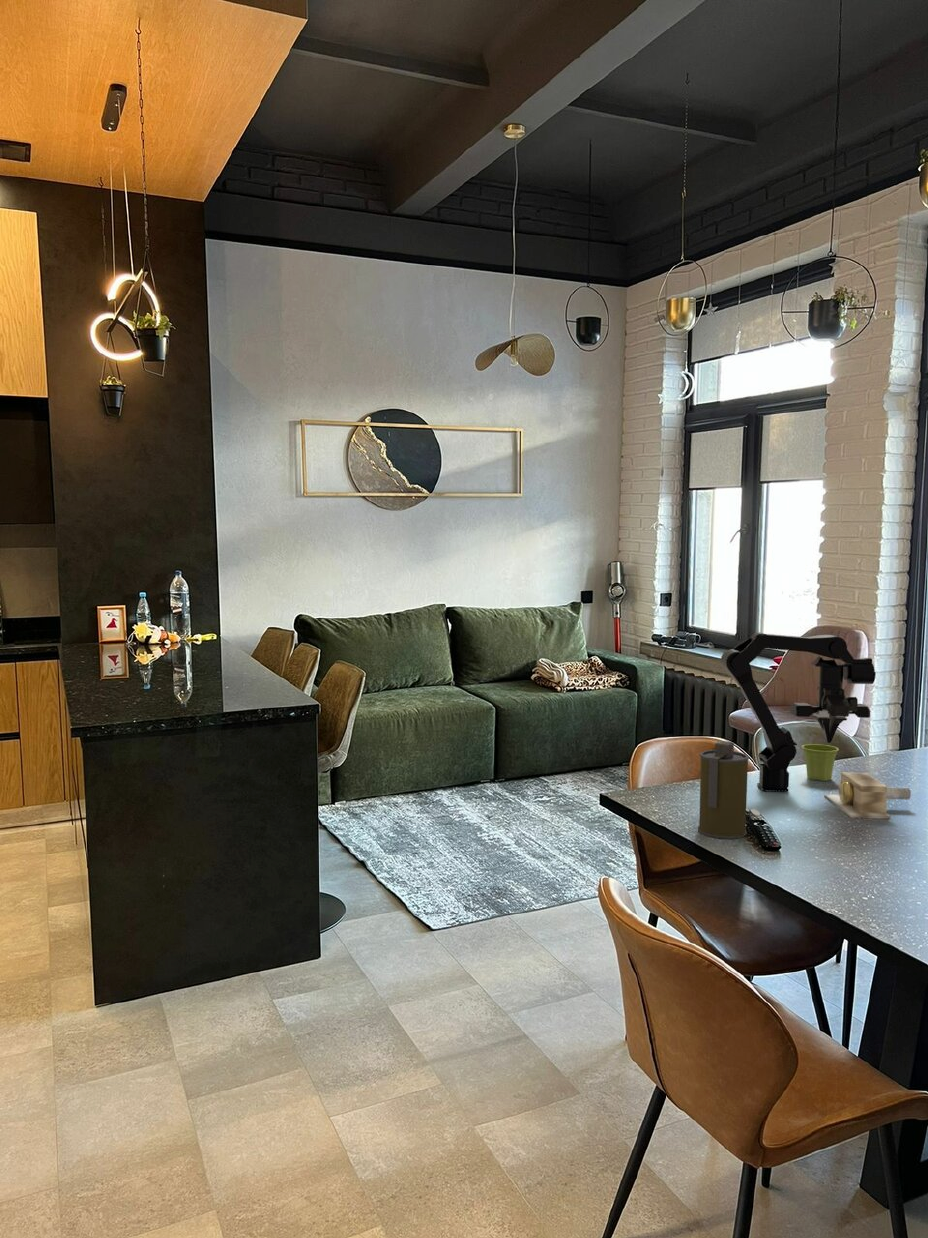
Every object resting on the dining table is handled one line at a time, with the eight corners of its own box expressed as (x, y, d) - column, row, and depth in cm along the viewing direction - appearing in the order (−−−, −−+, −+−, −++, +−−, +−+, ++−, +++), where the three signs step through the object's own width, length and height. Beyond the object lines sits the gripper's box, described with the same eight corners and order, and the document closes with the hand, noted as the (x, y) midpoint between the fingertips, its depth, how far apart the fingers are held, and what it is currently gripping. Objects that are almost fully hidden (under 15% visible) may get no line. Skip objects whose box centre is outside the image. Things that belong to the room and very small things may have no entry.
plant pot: (793, 775, 251) (794, 744, 251) (821, 773, 254) (822, 743, 254) (816, 784, 242) (817, 752, 242) (845, 781, 245) (846, 750, 245)
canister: (709, 821, 208) (712, 736, 206) (753, 831, 201) (756, 742, 200) (689, 833, 200) (691, 744, 198) (734, 843, 193) (737, 751, 191)
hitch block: (851, 817, 212) (852, 788, 211) (824, 796, 230) (825, 769, 229) (890, 818, 211) (891, 789, 211) (860, 797, 229) (861, 770, 229)
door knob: (846, 806, 218) (847, 784, 218) (838, 800, 223) (839, 779, 223) (912, 807, 217) (913, 786, 217) (903, 801, 222) (903, 780, 222)
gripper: (804, 687, 227) (802, 749, 228) (880, 688, 226) (877, 750, 227) (790, 681, 238) (788, 739, 239) (862, 682, 237) (860, 741, 238)
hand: (828, 742), depth 236 cm, fingers closed
